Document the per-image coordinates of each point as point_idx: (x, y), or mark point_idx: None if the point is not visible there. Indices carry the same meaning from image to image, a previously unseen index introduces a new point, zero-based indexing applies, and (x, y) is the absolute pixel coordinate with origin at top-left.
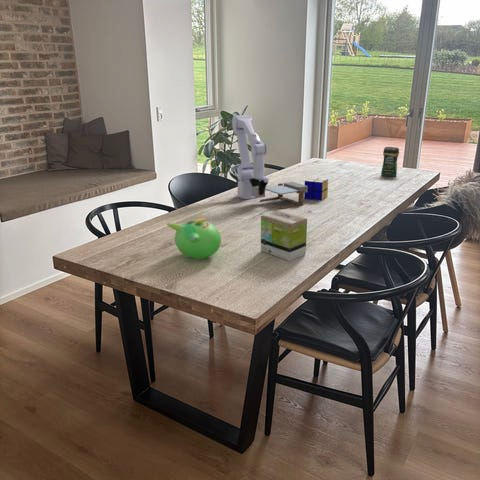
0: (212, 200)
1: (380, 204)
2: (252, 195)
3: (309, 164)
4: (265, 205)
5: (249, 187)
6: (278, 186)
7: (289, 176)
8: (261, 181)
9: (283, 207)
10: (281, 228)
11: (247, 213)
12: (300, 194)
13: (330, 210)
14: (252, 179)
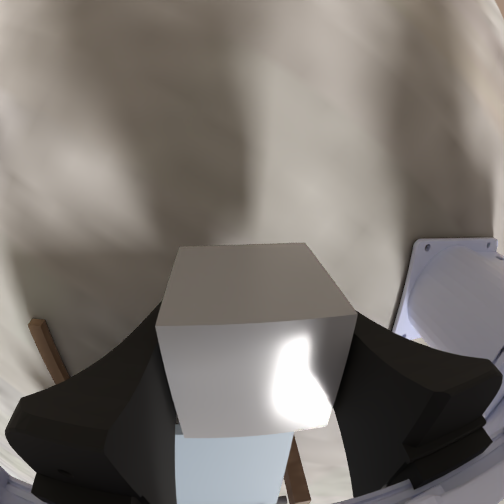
0: (500, 55)
1: None
2: (298, 245)
3: None
4: (160, 284)
5: (466, 332)
6: (265, 492)
7: None
8: (84, 489)
9: (34, 337)
10: None
11: (40, 30)
12: None
13: (5, 428)
14: (450, 429)
